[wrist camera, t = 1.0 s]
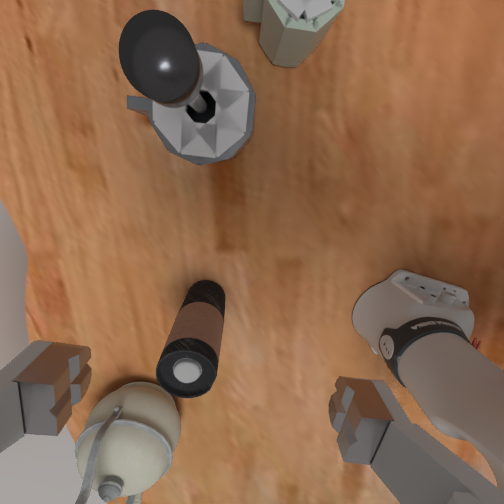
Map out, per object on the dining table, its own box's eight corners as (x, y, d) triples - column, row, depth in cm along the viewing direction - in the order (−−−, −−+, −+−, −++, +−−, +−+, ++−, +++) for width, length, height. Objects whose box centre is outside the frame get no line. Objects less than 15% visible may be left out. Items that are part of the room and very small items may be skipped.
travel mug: (179, 287, 52) (142, 362, 33) (216, 272, 51) (200, 341, 32) (197, 319, 54) (172, 406, 35) (233, 306, 53) (227, 387, 34)
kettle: (91, 367, 57) (-15, 514, 34) (179, 363, 58) (135, 506, 34) (115, 451, 65) (42, 617, 42) (192, 448, 66) (163, 610, 42)
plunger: (221, 86, 25) (198, 16, 12) (218, 129, 26) (194, 104, 14) (181, 81, 25) (117, 4, 12) (180, 124, 26) (120, 94, 13)
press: (254, 92, 41) (261, 47, 24) (246, 165, 45) (248, 171, 28) (166, 81, 41) (109, 25, 23) (165, 156, 44) (115, 155, 27)
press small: (320, 5, 38) (359, -73, 25) (310, 71, 41) (341, 31, 28) (246, -6, 38) (248, -93, 24) (241, 62, 40) (239, 16, 27)
